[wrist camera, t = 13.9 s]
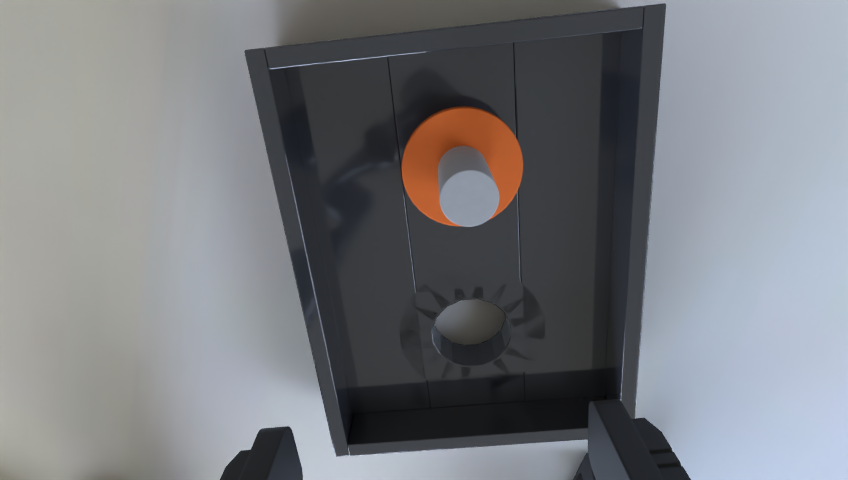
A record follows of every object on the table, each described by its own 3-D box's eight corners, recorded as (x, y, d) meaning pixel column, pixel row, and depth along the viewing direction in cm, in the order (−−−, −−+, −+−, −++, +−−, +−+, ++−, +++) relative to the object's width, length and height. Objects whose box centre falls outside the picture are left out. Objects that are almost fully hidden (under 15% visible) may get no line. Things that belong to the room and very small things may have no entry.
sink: (347, 402, 39) (342, 425, 37) (275, 47, 29) (262, 48, 27) (606, 382, 38) (617, 405, 36) (623, 8, 28) (641, 6, 26)
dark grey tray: (342, 425, 37) (335, 457, 34) (262, 48, 27) (243, 50, 24) (617, 405, 36) (633, 436, 33) (641, 6, 26) (666, 3, 23)
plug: (410, 214, 30) (404, 271, 23) (397, 106, 28) (386, 132, 20) (516, 204, 30) (544, 259, 23) (512, 94, 27) (543, 116, 20)
